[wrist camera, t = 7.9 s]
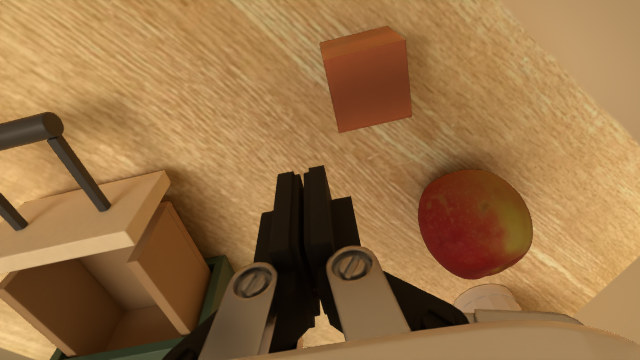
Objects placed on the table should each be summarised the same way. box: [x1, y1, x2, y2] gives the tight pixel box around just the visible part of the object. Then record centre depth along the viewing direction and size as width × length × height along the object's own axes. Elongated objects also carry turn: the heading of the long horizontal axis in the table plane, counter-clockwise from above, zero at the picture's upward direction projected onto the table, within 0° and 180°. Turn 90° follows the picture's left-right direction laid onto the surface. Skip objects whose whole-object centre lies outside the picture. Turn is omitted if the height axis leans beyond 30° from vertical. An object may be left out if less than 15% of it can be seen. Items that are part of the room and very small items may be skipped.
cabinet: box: [50, 255, 235, 360], centre depth 32 cm, size 15×13×9 cm
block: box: [320, 26, 412, 133], centre depth 21 cm, size 4×4×4 cm
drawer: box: [0, 112, 212, 358], centre depth 25 cm, size 20×11×7 cm, turn 13°
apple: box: [418, 169, 533, 280], centre depth 26 cm, size 8×8×8 cm
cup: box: [453, 284, 523, 313], centre depth 32 cm, size 8×8×12 cm
